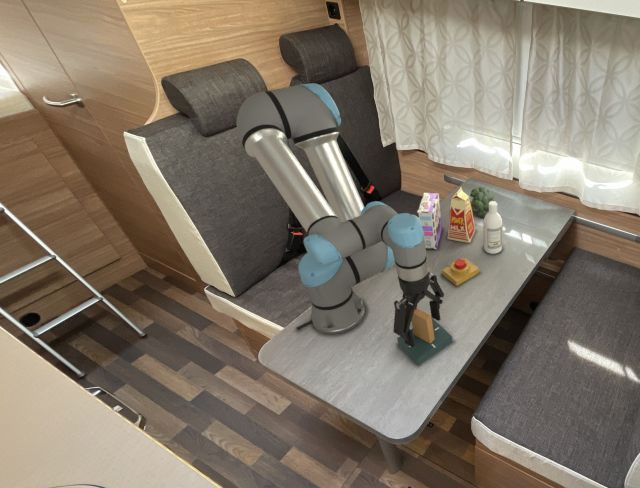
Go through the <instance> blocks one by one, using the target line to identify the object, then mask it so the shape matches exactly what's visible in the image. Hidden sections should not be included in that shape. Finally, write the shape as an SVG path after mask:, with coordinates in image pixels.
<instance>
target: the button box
mask: <svg viewBox="0 0 640 488" xmlns="http://www.w3.org/2000/svg"><path fill="white" fill-rule="evenodd" d="M462 259H463V260H465V265H466V266H465V268H463V269H457V268H455V261H456V260H457V259H455V260H452V262H451V263H450V265H448V266H447V267H445V268H443V269H441V273H442V275H443V277H445V278H446V279H447V280H448V281H450V282H451V283H452V284H454V285H455V286H456V287H458V286H459V285H461V284H463V283H465V282H466V281H468V280H470V279H472V278H473V277H475V276H477V275H478V274H480V267H478V266H477V265H475V264H474V263H473V262H471V261H470V260H469V259H467V258H465V257H463V258H462Z"/></svg>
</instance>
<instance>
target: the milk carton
mask: <svg viewBox="0 0 640 488" xmlns="http://www.w3.org/2000/svg"><path fill="white" fill-rule="evenodd" d="M450 200H451V201H450V207H449V225H448V232H447V240H450V241H457V242H462V243H468V244H470V243H471V241H472V239H473V237H474V235H475V232H476V226H475V220H474V215H473V209H472V208H471V204H470V201H471V199H470V195H468V194H466V193H465V192H464V190H463V188H462V186H460V188H459V189H458V190H457V191H456V193H454V194H453V195H452V197H451V199H450Z"/></svg>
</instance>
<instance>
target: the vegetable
mask: <svg viewBox="0 0 640 488" xmlns="http://www.w3.org/2000/svg"><path fill="white" fill-rule="evenodd" d="M470 191H471V192H470V195H469V197H471V198H472V199H471V200H470V204H471V208H472V210H475V211H477V216H478V217H480V218H483V219H484V218H485V216H486V214H487V213H488V212H489V202H491V201H495V197H494V194H493V193H492V191H490V189H489V190H488V189H487V188H486V187H484V186H480V187H478V188H477V187H476V188H472V190H470Z"/></svg>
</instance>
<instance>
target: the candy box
mask: <svg viewBox="0 0 640 488" xmlns="http://www.w3.org/2000/svg"><path fill="white" fill-rule="evenodd" d="M441 213H442V212H441V203H440V193H438V192H423V195H422V197H421V200H420V203H419V206H418V209H417V211H416V216H417V217H418V218H419V219H420V221H421V224H422V228H423V231H424V240H425V249H426V250H438V246H439V242H440V239H441V236H442V235H441V234H442V232H443V223H442V214H441Z"/></svg>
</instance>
